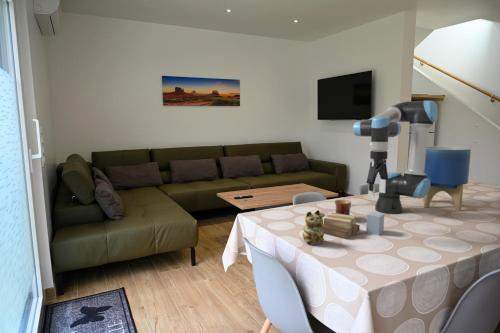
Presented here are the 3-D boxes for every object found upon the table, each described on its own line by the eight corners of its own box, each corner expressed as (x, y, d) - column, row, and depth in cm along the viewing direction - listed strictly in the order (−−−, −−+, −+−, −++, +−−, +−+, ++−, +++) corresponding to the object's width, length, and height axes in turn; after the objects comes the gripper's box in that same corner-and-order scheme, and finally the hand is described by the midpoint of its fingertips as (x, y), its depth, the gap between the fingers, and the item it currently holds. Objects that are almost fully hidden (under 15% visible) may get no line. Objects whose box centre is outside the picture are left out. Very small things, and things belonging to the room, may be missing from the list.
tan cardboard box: (333, 226, 170) (333, 219, 169) (359, 232, 160) (359, 224, 160) (319, 233, 159) (319, 225, 159) (346, 240, 150) (346, 232, 149)
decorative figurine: (308, 246, 141) (309, 213, 139) (298, 240, 149) (298, 208, 147) (326, 243, 145) (327, 210, 143) (315, 237, 153) (316, 206, 151)
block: (371, 229, 163) (371, 212, 162) (383, 232, 159) (384, 214, 158) (366, 232, 159) (367, 214, 158) (378, 235, 155) (379, 216, 154)
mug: (345, 223, 173) (346, 204, 172) (331, 219, 179) (331, 201, 178) (356, 218, 181) (357, 200, 180) (342, 215, 188) (343, 198, 186)
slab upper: (331, 220, 168) (332, 212, 167) (355, 224, 161) (355, 216, 161) (323, 226, 158) (323, 218, 157) (348, 230, 151) (348, 222, 151)
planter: (439, 199, 224) (443, 145, 219) (476, 209, 199) (481, 148, 194) (408, 202, 216) (412, 147, 211) (443, 213, 191) (448, 150, 186)
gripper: (380, 148, 165) (378, 189, 168) (360, 152, 147) (358, 198, 150) (396, 149, 160) (394, 191, 163) (376, 153, 142) (374, 201, 145)
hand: (376, 195), depth 156 cm, fingers open, 13 cm apart
